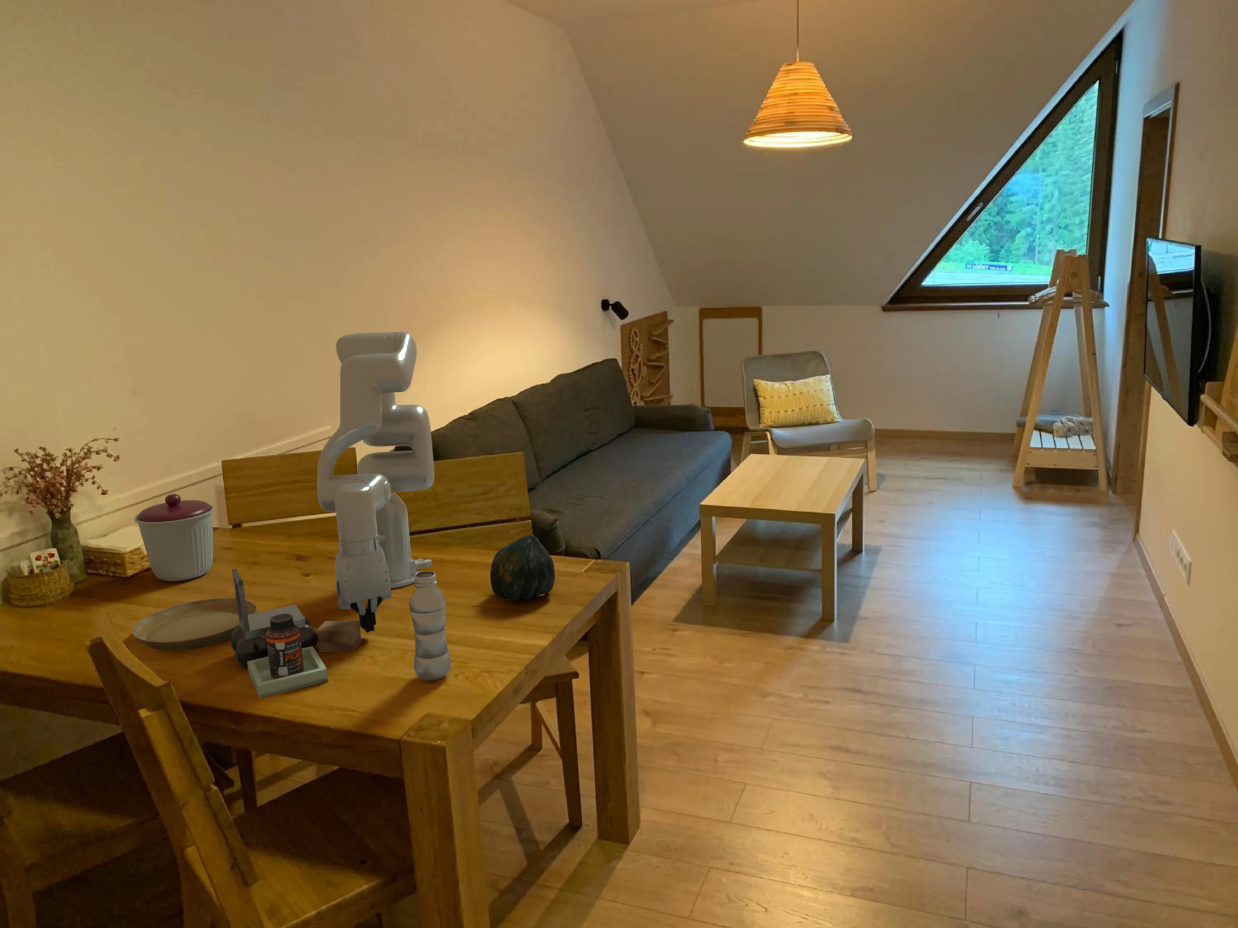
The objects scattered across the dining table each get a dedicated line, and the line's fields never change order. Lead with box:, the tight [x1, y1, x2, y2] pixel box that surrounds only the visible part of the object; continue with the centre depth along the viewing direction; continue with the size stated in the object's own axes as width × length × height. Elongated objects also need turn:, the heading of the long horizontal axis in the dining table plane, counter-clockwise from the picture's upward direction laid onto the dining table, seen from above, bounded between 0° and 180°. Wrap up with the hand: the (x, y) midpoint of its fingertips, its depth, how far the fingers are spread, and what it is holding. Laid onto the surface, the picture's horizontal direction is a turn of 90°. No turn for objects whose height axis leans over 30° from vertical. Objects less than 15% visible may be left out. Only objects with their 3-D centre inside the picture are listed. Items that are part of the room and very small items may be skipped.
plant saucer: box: [132, 597, 258, 651], centre depth 191 cm, size 24×24×3 cm
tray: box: [247, 646, 329, 700], centre depth 167 cm, size 12×12×2 cm
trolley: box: [229, 568, 318, 669], centre depth 176 cm, size 15×9×18 cm, turn 120°
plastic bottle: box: [408, 570, 452, 681], centre depth 164 cm, size 6×7×20 cm
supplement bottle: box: [265, 614, 304, 679], centre depth 166 cm, size 6×6×11 cm
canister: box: [133, 493, 215, 582], centre depth 225 cm, size 18×18×21 cm
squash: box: [489, 534, 556, 602], centre depth 203 cm, size 14×15×15 cm
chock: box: [315, 619, 362, 653], centre depth 180 cm, size 7×5×4 cm
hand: (368, 629), depth 184 cm, fingers closed
